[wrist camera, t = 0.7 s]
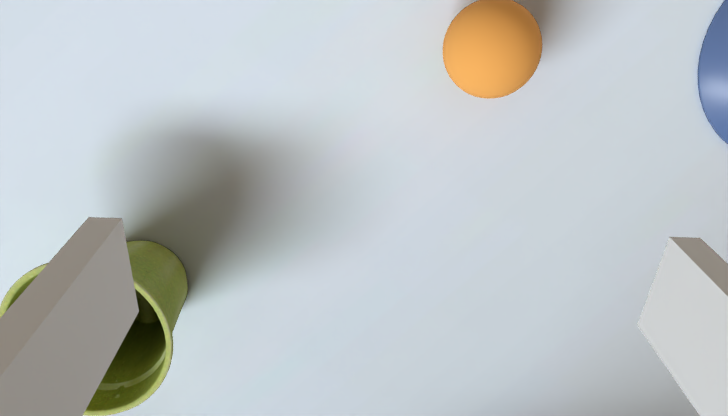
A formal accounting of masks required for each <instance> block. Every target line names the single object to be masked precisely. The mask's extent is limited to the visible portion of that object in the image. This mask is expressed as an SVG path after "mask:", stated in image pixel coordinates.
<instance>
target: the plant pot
mask: <svg viewBox="0 0 728 416" xmlns="http://www.w3.org/2000/svg"><path fill="white" fill-rule="evenodd" d="M126 243H127V249H128V254H129V260H130V265H131V270H132V276H133V281H134V287H135V292H136V298H137V303H138V308H139V312H138V314H137V316H136V318H135V320H134V322H133V324H132V325H131V327H130V329H129V331H128V333H127V335H126V336H125V338H124V340H123V342H122V344H121V346H120V348H119V349H118V351H117V353H116V355H115V357H114V359H113V360H112V362H111V364H110V366H109V368H108V370H107V371H106V373H105V375H104V377H103V379H102V381H101V383H100V384H99V386H98V388H97V390H96V392H95V394H94V395H93V397H92V399H91V401H90V403H89V405H88V407H87V408H86V410H85V412H84V414H83V415H88V416H105V415H111V414H116V413H120V412H123V411H126V410H129V409H131V408H133V407H136V406H138V405H139V404H141V403H142V402H144V401H145V400H147V399H148V398H149V397H150V396H151V395H152V394H153V393H154V392H155V391H156V390H157V389H158V388H159V386H160V385H161V383H162V382H163V380H164V378H165V376H166V374H167V372H168V370H169V367H170V364H171V360H172V354H173V337H172V332H173V329H174V327H175V324H176V322H177V319H178V317H179V314H180V311H181V309H182V306H183V304H184V301H185V299H186V296H187V292H188V285H187V277H186V272H185V269H184V267H183V265H182V263H181V262H180V260H179V259H178V257H177V256H176V255H175V254H174V253H173V252H171V251H170V250H169V249H167V248H166V247H164V246H162V245H160V244H157V243H155V242H151V241H128V242H126ZM47 264H48V263H46V264H43V265H41V266H39V267H36V268H34V269H33V270H31V271H29V272H28V273H26V274H25V275H23V276H22V277H21V278H20V279H18V280H17V281H16V282H15V283H14V285H13V286H12V287H11V288H10V289H9V291H8V292H7V294H6V295H5V297H4V299H3V301H2V303H1V306H0V318H1V317H2V315H3V314H4V313H5V312H6V311H7V310H8V309H9V307H10V306H11V305H12V304H13V303H14V302H15V301H16V299H17V298H18V297H19V296H20V295H21V294H22V293H23V292H24V290H25V289H26V288H27V287H28V286H29V285H30V284H31V282H32V281H33V280H34V279H35V278H36V277H37V276H38V274H39V273H40V272H41V271H42V270H43V269H44V268H45V266H46V265H47Z"/></svg>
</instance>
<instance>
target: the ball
mask: <svg viewBox="0 0 728 416" xmlns="http://www.w3.org/2000/svg"><path fill="white" fill-rule="evenodd" d="M541 53H542V37H541V32H540V29H539V26H538V24H537V22H536V20H535V18H534V17H533V16H532V14H531V13H530V12H529V11H528V10H527V9H526V8H524V7H523V6H522V5H520V4H518V3H517V2H514V1H512V0H479V1H476V2H474V3H472V4H470V5H469V6H467V7H465V8H464V9H463V10H462V11H461V12H460V13H459V14H458V15H457V16H456V17H455V18H454V19H453V21H452V22H451V24H450V26H449V27H448V29H447V32H446V34H445V38H444V42H443V60H444V64H445V68H446V70H447V72H448V74H449V76H450V78H451V79H452V80H453V82H454V83H455V84H456V85H457V86H458V87H459V88H461V89H462V90H463V91H465V92H466V93H468V94H470V95H473V96H476V97H480V98H498V97H503V96H506V95H509V94H511V93H513V92H515V91H516V90H518V89H519V88H521V87H522V86H523V85H524V84H525V83H526V82H527V81H528V80H529V79H530V78H531V77H532V75H533V74H534V72H535V70H536V69H537V66H538V64H539V61H540V58H541Z"/></svg>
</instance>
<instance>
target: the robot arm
mask: <svg viewBox="0 0 728 416" xmlns="http://www.w3.org/2000/svg"><path fill="white" fill-rule="evenodd" d="M138 312H139V308H138V303H137V298H136V292H135V287H134V281H133V276H132V270H131V265H130V260H129V254H128V249H127V243H126V238H125V232H124V227H123V222H122V218H95V217H88V219H87V220H86V221H85V222H84V223H83V224H82V225H81V227H80V228H79V229H78V230H77V231H76V232H75V233H74V235H73V236H72V237H71V238H70V239H69V240H68V241H67V243H66V244H65V245H64V246H63V247H62V248H61V249H60V251H59V252H58V253H57V254H56V255H55V256H54V257H53V258H52V260H51V261H50V262H49V263H48V264H47V265H46V266H45V268H44V269H43V270H42V271H41V272H40V273H39V274H38V276H37V277H36V278H35V279H34V280H33V281H32V282H31V284H30V285H29V286H28V287H27V288H26V289H25V290H24V292H23V293H22V294H21V295H20V296H19V297H18V298H17V299H16V301H15V302H14V303H13V304H12V305H11V306H10V307H9V309H8V310H7V311H6V312H5V313H4V314H3V315H2V317H1V318H0V416H83V414H84V412H85V410H86V408H87V407H88V405H89V403H90V401H91V399H92V397H93V395H94V394H95V392H96V390H97V388H98V386H99V384H100V383H101V381H102V379H103V377H104V375H105V373H106V371H107V370H108V368H109V366H110V364H111V362H112V360H113V359H114V357H115V355H116V353H117V351H118V349H119V348H120V346H121V344H122V342H123V340H124V338H125V336H126V335H127V333H128V331H129V329H130V327H131V325H132V324H133V322H134V320H135V318H136V316H137V314H138ZM637 326H638V327H639V329H640V330H641V331H642V333H643V334H644V336H645V337H646V339H647V340H648V342H649V343H650V345H651V346H652V347H653V349H654V350H655V352H656V353H657V355H658V356H659V358H660V359H661V360H662V362H663V363H664V365H665V366H666V368H667V369H668V371H669V372H670V373H671V375H672V376H673V378H674V379H675V381H676V382H677V384H678V385H679V387H680V388H681V389H682V391H683V392H684V394H685V395H686V397H687V398H688V400H689V401H690V402H691V404H692V405H693V407H694V408H695V410H696V411H697V413H698V414H699V415H700V416H728V264H727V263H726V262H725V261H724V260H723V259H722V258H721V257H720V256H719V255H718V254H717V253H716V252H715V251H714V250H712V249H711V248H710V247H709V246H708V245H707V244H706V243H705V242H704V241H703V240H702V239H701V238H686V237H669V239H668V242H667V245H666V248H665V250H664V253H663V256H662V259H661V261H660V264H659V267H658V270H657V272H656V275H655V278H654V280H653V283H652V286H651V289H650V291H649V294H648V297H647V300H646V302H645V305H644V308H643V311H642V313H641V316H640V319H639V322H638V324H637Z"/></svg>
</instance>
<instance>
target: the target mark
mask: <svg viewBox="0 0 728 416" xmlns="http://www.w3.org/2000/svg"><path fill="white" fill-rule="evenodd" d="M698 88H699V95H700V100H701V103H702V107H703V110H704V112H705V114H706V117H707V119H708V121H709V123H710V124H711V126H712V127H713V129H714V130H715V132H716V133H717V134H718V135H719V136H720V137H721V138H722V139H723V141H725V142H726V143H727V144H728V0H725V1H724V2H723V4H722V5H721V7H720V8H719V10H718V11H717V13H716V14H715V16H714V18H713V20H712V22H711V24H710V26H709V28H708V31H707V33H706V36H705V39H704V41H703V45H702V49H701V53H700V57H699V65H698Z"/></svg>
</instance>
